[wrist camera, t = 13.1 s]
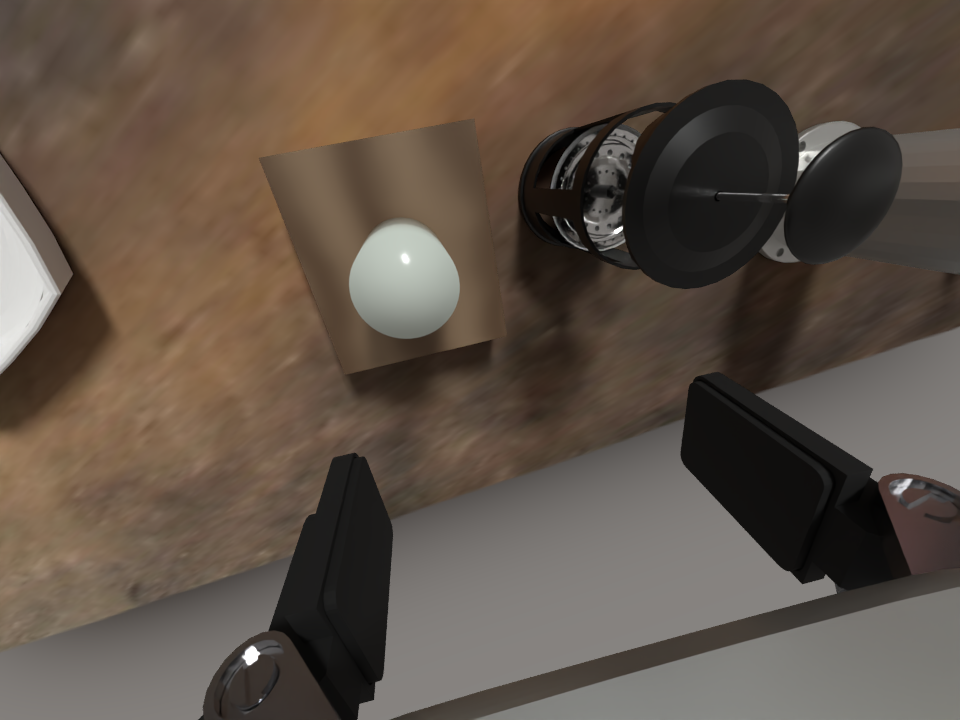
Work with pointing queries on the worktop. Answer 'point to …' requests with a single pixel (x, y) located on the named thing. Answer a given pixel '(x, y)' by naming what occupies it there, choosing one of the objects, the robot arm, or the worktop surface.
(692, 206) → the french press
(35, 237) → the pan
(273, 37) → the worktop surface
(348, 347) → the brown wooden block
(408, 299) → the white rounded capsule
